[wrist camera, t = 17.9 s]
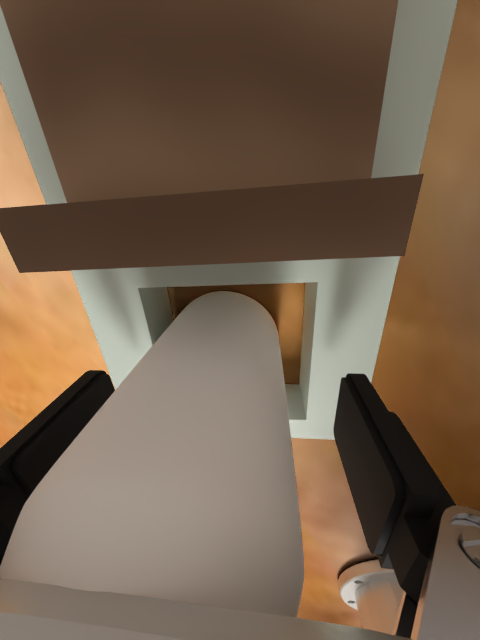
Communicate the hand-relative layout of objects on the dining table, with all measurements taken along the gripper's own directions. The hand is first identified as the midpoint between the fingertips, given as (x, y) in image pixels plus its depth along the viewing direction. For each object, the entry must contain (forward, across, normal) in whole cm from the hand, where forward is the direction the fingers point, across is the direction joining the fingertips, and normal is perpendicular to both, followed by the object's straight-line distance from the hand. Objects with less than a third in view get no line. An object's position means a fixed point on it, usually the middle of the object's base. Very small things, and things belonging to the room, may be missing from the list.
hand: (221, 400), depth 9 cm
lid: (+2, 0, -10) cm, 10 cm away
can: (+6, +1, 0) cm, 6 cm away
